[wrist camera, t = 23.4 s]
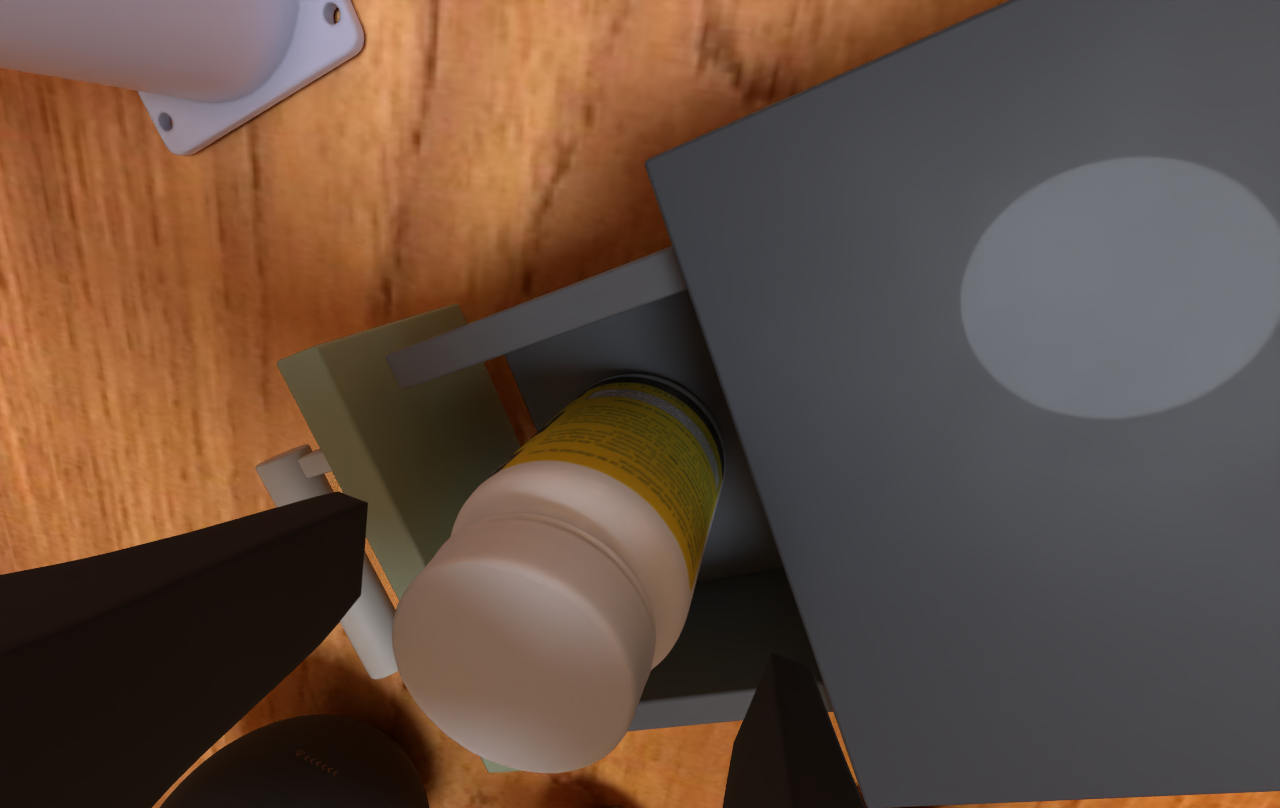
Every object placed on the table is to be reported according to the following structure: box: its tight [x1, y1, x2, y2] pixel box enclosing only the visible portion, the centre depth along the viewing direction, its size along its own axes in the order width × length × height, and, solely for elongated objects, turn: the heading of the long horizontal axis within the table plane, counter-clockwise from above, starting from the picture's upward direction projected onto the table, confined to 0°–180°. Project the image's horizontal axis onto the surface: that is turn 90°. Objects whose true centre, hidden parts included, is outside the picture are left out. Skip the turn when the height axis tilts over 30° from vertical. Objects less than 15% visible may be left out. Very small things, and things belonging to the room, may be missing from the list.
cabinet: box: [645, 0, 1280, 808], centre depth 11 cm, size 15×13×8 cm
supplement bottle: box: [392, 374, 726, 773], centre depth 13 cm, size 5×5×8 cm
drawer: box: [256, 246, 833, 773], centre depth 15 cm, size 18×11×6 cm, turn 111°
